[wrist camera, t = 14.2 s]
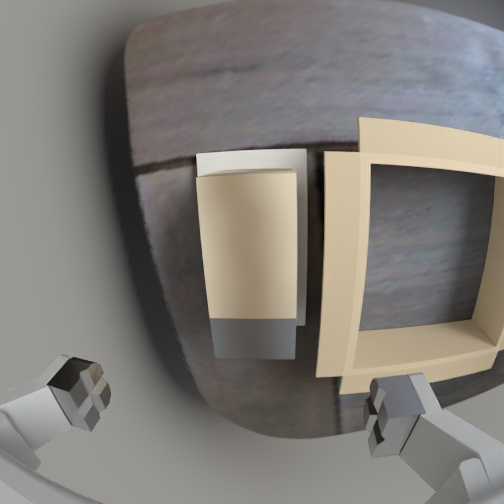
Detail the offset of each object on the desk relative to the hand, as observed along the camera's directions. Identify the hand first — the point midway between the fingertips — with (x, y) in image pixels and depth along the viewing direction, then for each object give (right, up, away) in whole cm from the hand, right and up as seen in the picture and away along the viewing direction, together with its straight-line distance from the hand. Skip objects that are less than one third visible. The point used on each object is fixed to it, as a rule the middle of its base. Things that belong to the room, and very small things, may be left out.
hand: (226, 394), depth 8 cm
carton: (+15, +4, +14) cm, 21 cm away
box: (+1, +5, +14) cm, 15 cm away
